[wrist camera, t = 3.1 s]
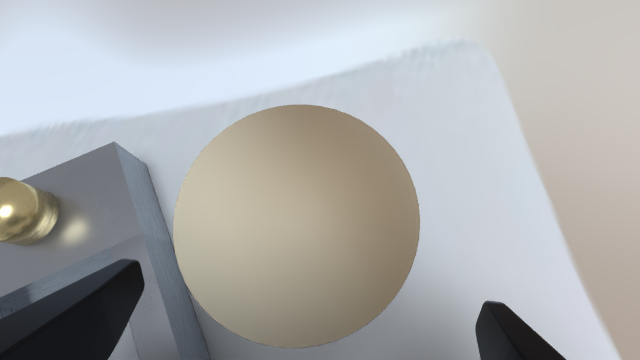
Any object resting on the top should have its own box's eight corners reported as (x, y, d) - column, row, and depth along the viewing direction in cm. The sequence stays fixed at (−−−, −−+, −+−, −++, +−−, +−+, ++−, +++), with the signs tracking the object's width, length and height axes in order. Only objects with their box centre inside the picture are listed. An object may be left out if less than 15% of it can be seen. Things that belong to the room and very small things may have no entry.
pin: (298, 329, 17) (224, 401, 5) (262, 246, 18) (143, 161, 7) (378, 287, 17) (470, 271, 6) (338, 210, 18) (348, 72, 7)
